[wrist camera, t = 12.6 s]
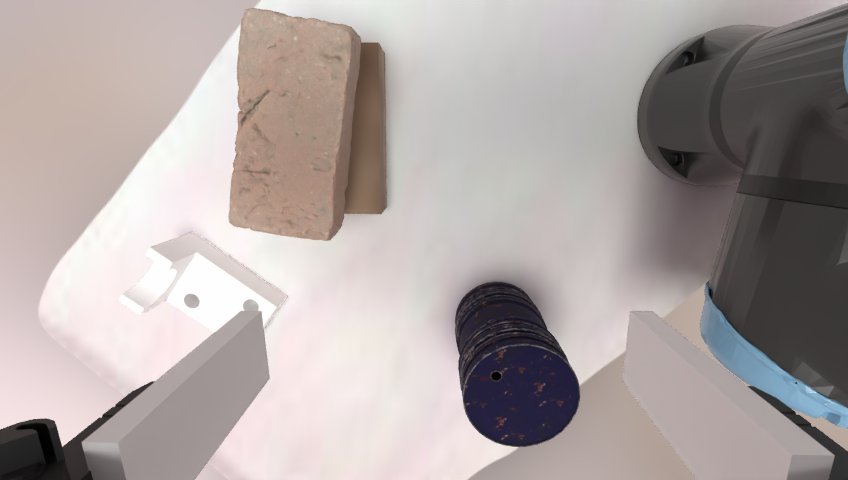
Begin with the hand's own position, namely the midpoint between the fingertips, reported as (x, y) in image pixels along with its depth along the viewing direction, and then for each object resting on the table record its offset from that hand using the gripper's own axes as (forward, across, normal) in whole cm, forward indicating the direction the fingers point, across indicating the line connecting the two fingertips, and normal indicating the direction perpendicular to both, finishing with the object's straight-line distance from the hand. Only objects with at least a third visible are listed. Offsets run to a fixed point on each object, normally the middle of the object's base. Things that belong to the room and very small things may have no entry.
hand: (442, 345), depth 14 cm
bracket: (+31, +26, +9) cm, 42 cm away
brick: (+22, +12, -8) cm, 26 cm away
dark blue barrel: (+31, -6, +13) cm, 35 cm away
